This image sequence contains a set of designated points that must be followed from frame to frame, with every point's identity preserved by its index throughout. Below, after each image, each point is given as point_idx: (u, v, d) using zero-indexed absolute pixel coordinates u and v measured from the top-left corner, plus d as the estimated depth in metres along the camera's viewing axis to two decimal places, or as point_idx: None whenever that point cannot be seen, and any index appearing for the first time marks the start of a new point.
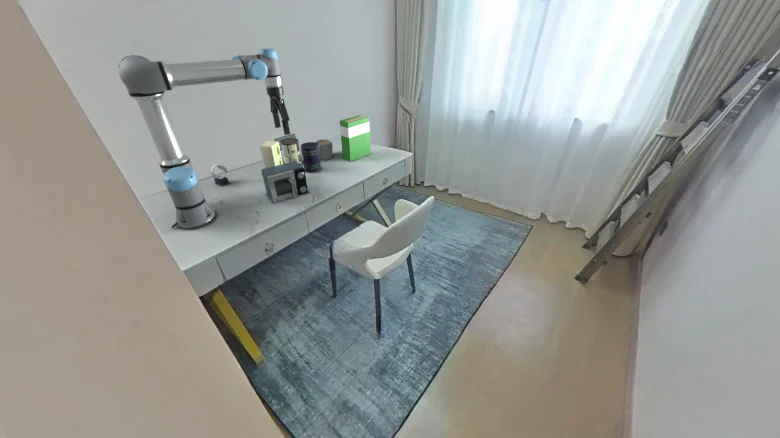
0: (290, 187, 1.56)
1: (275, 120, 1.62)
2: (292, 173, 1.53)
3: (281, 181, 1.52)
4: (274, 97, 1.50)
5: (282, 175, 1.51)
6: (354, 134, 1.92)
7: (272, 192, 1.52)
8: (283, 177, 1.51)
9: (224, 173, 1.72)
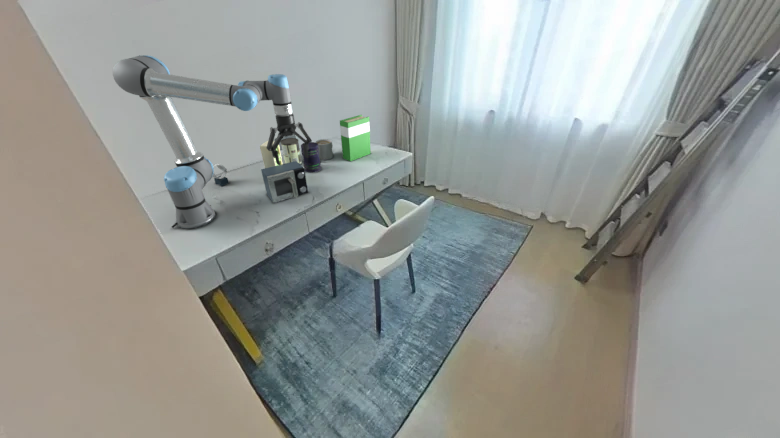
0: (290, 187, 1.56)
1: None
2: (292, 173, 1.53)
3: (281, 181, 1.52)
4: None
5: (282, 175, 1.51)
6: (354, 134, 1.92)
7: (272, 192, 1.52)
8: (283, 177, 1.51)
9: (224, 173, 1.72)
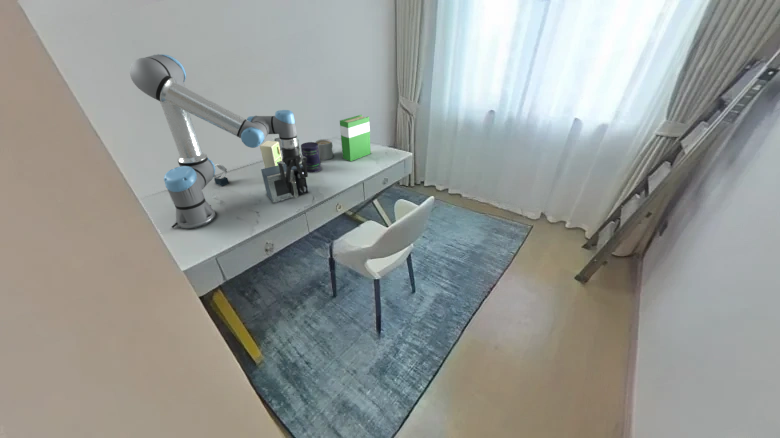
0: None
1: (300, 183, 1.54)
2: (292, 173, 1.53)
3: (281, 181, 1.52)
4: None
5: None
6: (354, 134, 1.92)
7: (272, 192, 1.52)
8: None
9: (224, 173, 1.72)
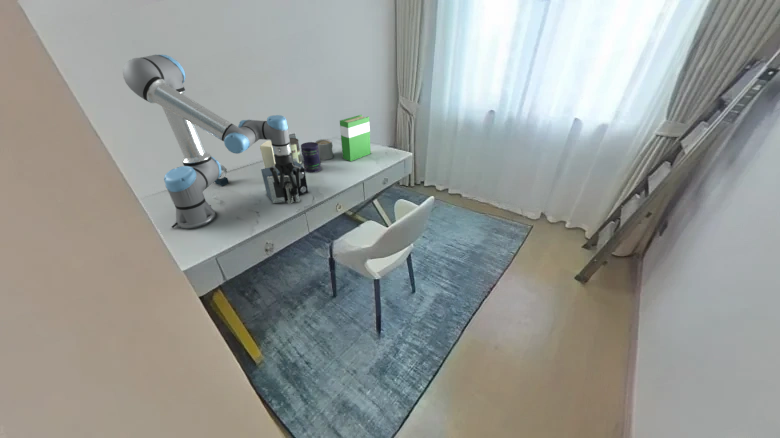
0: (290, 191, 1.52)
1: None
2: None
3: None
4: None
5: None
6: (354, 134, 1.92)
7: (271, 192, 1.51)
8: None
9: (224, 173, 1.72)
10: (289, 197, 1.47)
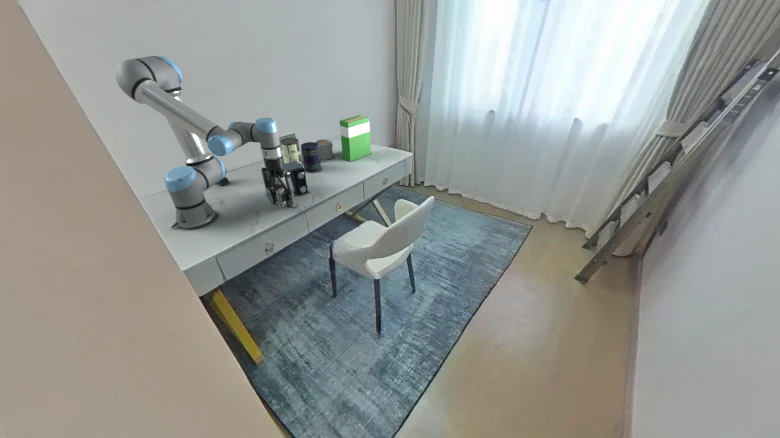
0: None
1: None
2: None
3: (277, 186, 1.47)
4: None
5: (278, 181, 1.45)
6: (354, 134, 1.92)
7: None
8: (279, 183, 1.46)
9: None
10: (279, 201, 1.43)
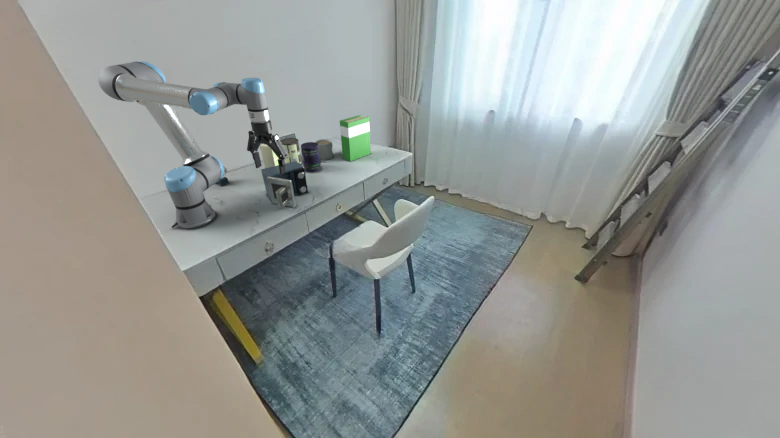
0: (286, 196, 1.49)
1: None
2: (288, 183, 1.44)
3: (277, 186, 1.47)
4: None
5: (278, 181, 1.45)
6: (354, 134, 1.92)
7: (270, 193, 1.51)
8: (279, 183, 1.46)
9: (224, 173, 1.72)
10: (279, 201, 1.43)
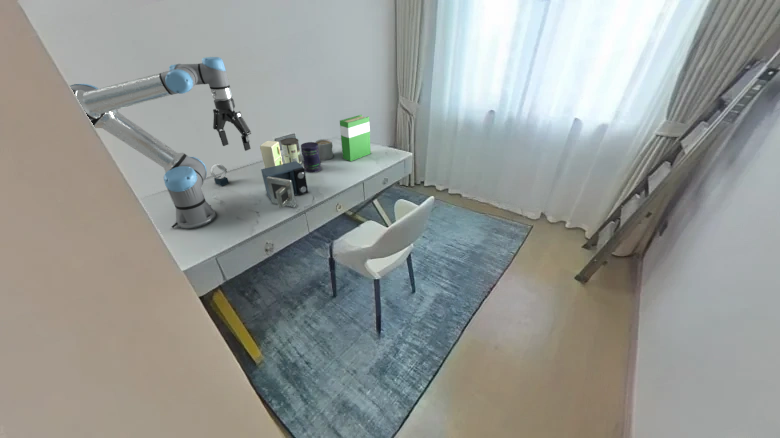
0: (286, 196, 1.49)
1: None
2: (288, 183, 1.44)
3: (277, 186, 1.47)
4: None
5: (278, 181, 1.45)
6: (354, 134, 1.92)
7: (270, 193, 1.51)
8: (279, 183, 1.46)
9: (224, 173, 1.72)
10: (279, 201, 1.43)
